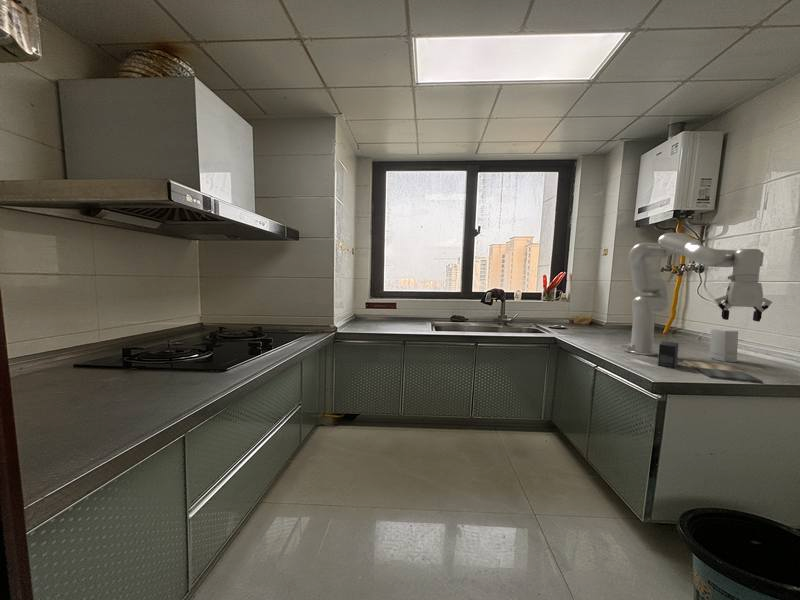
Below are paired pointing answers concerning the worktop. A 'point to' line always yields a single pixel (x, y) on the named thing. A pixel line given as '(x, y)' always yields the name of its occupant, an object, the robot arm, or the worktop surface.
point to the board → (721, 371)
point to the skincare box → (723, 345)
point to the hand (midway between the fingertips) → (740, 320)
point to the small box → (668, 354)
